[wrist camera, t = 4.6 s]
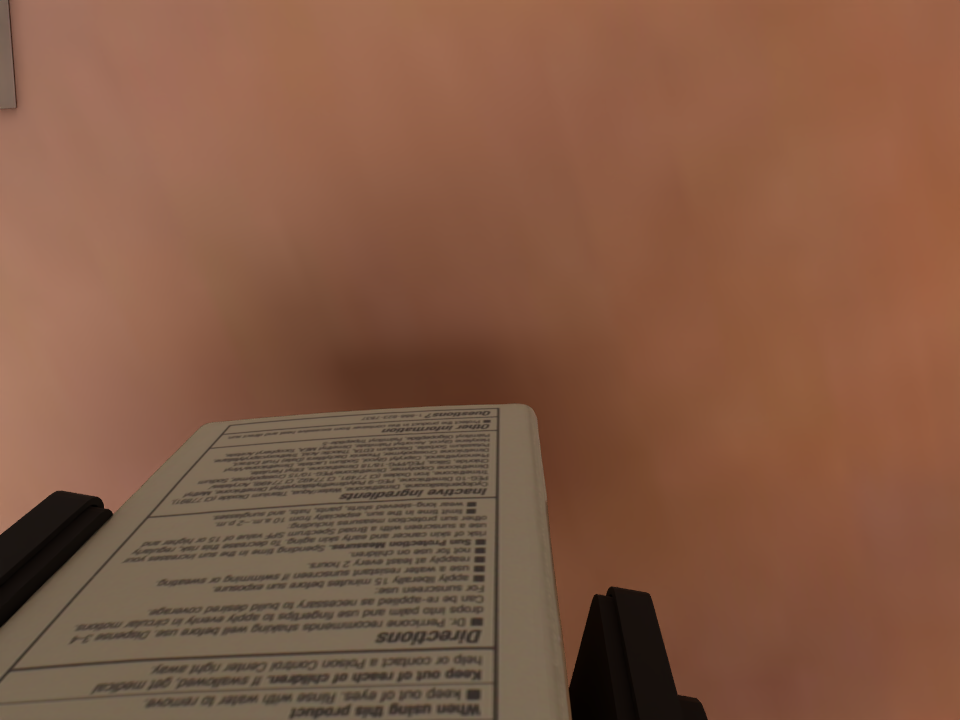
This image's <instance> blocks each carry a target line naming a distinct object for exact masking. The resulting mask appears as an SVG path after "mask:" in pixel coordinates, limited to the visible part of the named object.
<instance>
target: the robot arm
mask: <svg viewBox="0 0 960 720" xmlns="http://www.w3.org/2000/svg"><path fill="white" fill-rule="evenodd" d="M112 516H113V513H112V511H111V510H109V509H104V504H103V502H102V500H101V499H100V498H98V497H95V496H89V495H83V494H77V493H72V492H66V491H56V492H54V493H52V494H51V495H50V496H48V497H47V498H46V499H45V500H43V501H42V502H41V503H40V504H38V505H37V506H36V507H35V508H33V509H32V510H31V511H30V512H28V513H27V514H26V515H25V516H23V517H22V518H21V519H20V520H18V521H17V522H16V523H15V524H13V525H12V526H11V527H10V528H8V529H7V530H6V531H5V532H3V533H2V534H1V535H0V627H2V626H3V625H4V624H5V623H6V622H7V621H8V620H9V619H10V618H11V617H12V616H13V615H14V614H15V613H16V612H17V611H18V610H19V609H20V608H21V607H22V606H23V604H24V603H25V602H26V601H27V600H28V599H29V598H30V597H31V596H32V595H33V594H34V593H35V592H36V591H37V590H38V589H39V588H40V587H41V586H42V585H43V584H44V583H45V582H46V581H47V580H48V579H49V578H50V577H51V576H52V575H53V574H54V573H56V572H57V571H58V570H59V569H60V568H61V567H62V566H63V565H64V564H65V563H66V562H67V561H68V560H69V559H70V558H71V557H72V556H73V555H74V554H75V553H76V552H77V551H78V550H79V549H80V548H81V547H82V546H83V545H84V543H85V542H86V541H87V540H88V539H89V538H90V537H91V536H92V535H93V534H94V533H95V532H96V531H97V530H98V529H99V528H100V527H102V526H103V525H104V524H105V523H106V522H107V521H108V520H109V519H110V518H111V517H112ZM569 697H570V707H571V716H572V720H708V719H707V716H706V713H705V711H704V708H703V706H702V704H701V702H700V701H699V700H698V699H697V698H692V697H686V696H681V695H677V691H676V687H675V683H674V680H673V676H672V672H671V669H670V665H669V661H668V657H667V654H666V650H665V646H664V643H663V639H662V635H661V632H660V628H659V624H658V620H657V617H656V613H655V609H654V606H653V602H652V598H651V596H650V594H649V593H646V592H641V591H635V590H629V589H624V588H618V587H612V586H611V587H610V588H609V589H608V591H607V594H606V596H604V595H598V594H596V595H594V597H593V600H592V603H591V607H590V611H589V614H588V618H587V622H586V626H585V630H584V634H583V637H582V641H581V645H580V649H579V653H578V657H577V660H576V664H575V668H574V672H573V676H572V680H571V683H570V687H569Z"/></svg>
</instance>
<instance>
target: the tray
mask: <svg viewBox="0 0 960 720" xmlns="http://www.w3.org/2000/svg"><path fill="white" fill-rule="evenodd" d="M5 108H16V98H15V85H14V72H13V58H12V45H11V32H10V19H9V5H8V0H0V109H5Z"/></svg>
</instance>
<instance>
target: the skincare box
mask: <svg viewBox="0 0 960 720" xmlns="http://www.w3.org/2000/svg"><path fill="white" fill-rule="evenodd" d="M0 720H572V716H571V707H570V697H569V688H568V679H567V670H566V661H565V652H564V644H563V636H562V628H561V620H560V612H559V604H558V596H557V588H556V580H555V572H554V564H553V556H552V547H551V538H550V528H549V517H548V505H547V494H546V486H545V479H544V472H543V464H542V457H541V448H540V441H539V433H538V421H537V417H536V414H535V412H534V411H533V409H532V408H531V407H529V406H527V405H525V404H486V405H458V406H430V407H411V408H392V409H376V410H360V411H344V412H328V413H316V414H303V415H290V416H278V417H266V418H256V419H244V420H235V421H223V422H212V423H207V424H205V425H203V426H201V427H200V428H199V429H198V430H197V431H196V432H195V433H194V434H193V435H192V436H191V437H190V438H189V439H188V440H187V441H186V442H185V443H184V444H183V445H182V446H181V447H180V448H179V449H178V450H177V451H176V452H175V453H174V454H173V455H172V456H171V457H170V458H169V459H168V460H167V461H166V462H165V463H164V464H163V465H162V466H161V467H160V468H159V469H158V470H157V471H156V472H155V473H154V474H153V475H152V476H151V477H150V478H149V479H148V480H147V481H146V482H145V483H144V484H143V485H142V486H141V488H140V489H139V490H138V491H137V492H136V493H134V494H133V495H132V496H131V497H130V498H129V499H128V500H127V501H126V502H125V503H124V504H123V505H122V506H121V507H120V508H119V509H118V510H117V511H116V512H115V513H114V514H113V516H112V517H111V518H110V519H109V520H108V521H107V522H106V523H105V524H104V525H103V526H102V527H100V528H99V529H98V530H97V531H96V532H95V533H94V534H93V535H92V536H91V537H90V538H89V539H88V540H87V541H86V542H85V543H84V545H83V546H82V547H81V548H80V549H79V550H78V551H77V552H76V553H75V554H74V555H73V556H72V557H71V558H70V559H69V560H68V561H67V562H66V563H65V564H64V565H63V566H62V567H61V568H60V569H59V570H58V571H57V572H56V573H54V574H53V575H52V576H51V577H50V578H49V579H48V580H47V581H46V582H45V583H44V584H43V585H42V586H41V587H40V588H39V589H38V590H37V591H36V592H35V593H34V594H33V595H32V596H31V597H30V598H29V599H28V600H27V601H26V602H25V603H24V604H23V606H22V607H21V608H20V609H19V610H18V611H17V612H16V613H15V614H14V615H13V616H12V617H11V618H10V619H9V620H8V621H7V622H6V623H5V624H4V625H3V626H2V627H0Z"/></svg>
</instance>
